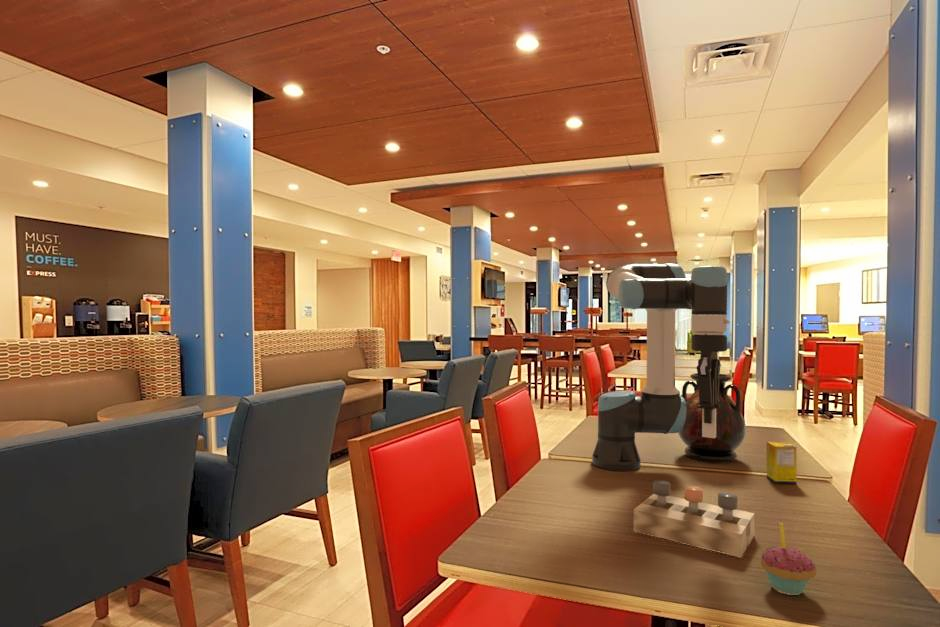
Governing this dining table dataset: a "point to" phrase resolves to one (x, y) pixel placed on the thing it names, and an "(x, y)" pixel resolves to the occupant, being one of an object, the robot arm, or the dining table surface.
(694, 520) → the panel
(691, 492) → the terracotta plug
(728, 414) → the amphora vase
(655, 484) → the charcoal plug left
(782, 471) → the supplement box
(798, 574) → the cupcake
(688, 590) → the dining table surface
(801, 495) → the dining table surface
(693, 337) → the robot arm
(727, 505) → the charcoal plug right
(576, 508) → the dining table surface
